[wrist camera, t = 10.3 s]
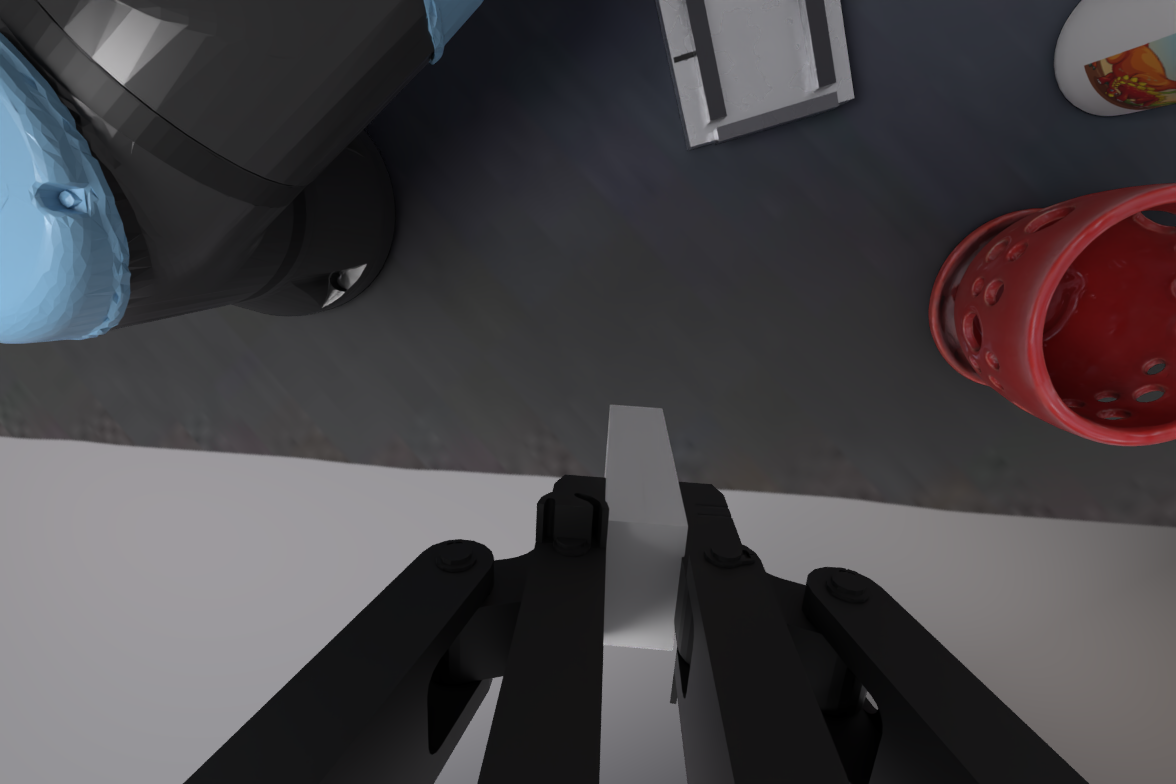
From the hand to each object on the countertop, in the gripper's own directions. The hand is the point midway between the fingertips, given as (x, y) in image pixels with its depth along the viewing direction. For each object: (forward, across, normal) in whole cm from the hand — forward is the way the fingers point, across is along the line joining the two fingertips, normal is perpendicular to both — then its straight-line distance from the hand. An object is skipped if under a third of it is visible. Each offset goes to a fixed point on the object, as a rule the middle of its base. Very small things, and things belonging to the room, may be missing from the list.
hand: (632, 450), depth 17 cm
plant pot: (+26, +26, +3) cm, 37 cm away
